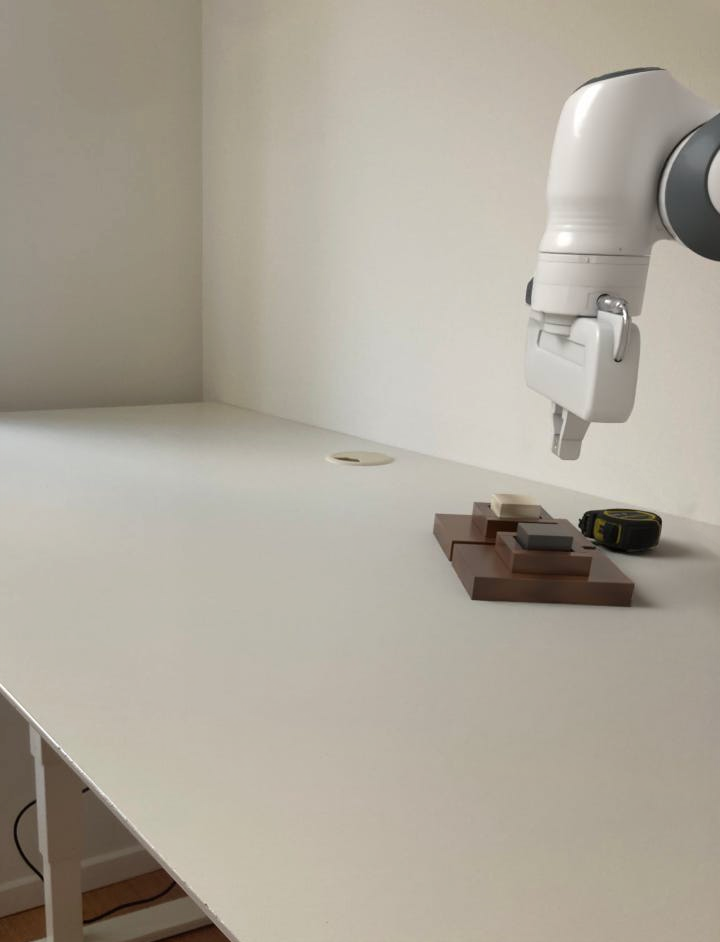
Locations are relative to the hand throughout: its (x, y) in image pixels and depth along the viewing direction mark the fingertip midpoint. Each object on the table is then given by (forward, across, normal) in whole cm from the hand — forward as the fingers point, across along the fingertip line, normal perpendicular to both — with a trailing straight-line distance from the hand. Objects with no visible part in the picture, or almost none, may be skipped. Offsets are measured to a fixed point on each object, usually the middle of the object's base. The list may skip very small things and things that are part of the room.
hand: (564, 456), depth 90 cm
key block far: (+12, +11, +1) cm, 16 cm away
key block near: (+12, 0, +1) cm, 12 cm away
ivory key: (+8, +11, +1) cm, 14 cm away
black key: (+8, 0, +1) cm, 8 cm away
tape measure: (+12, +14, -11) cm, 22 cm away
